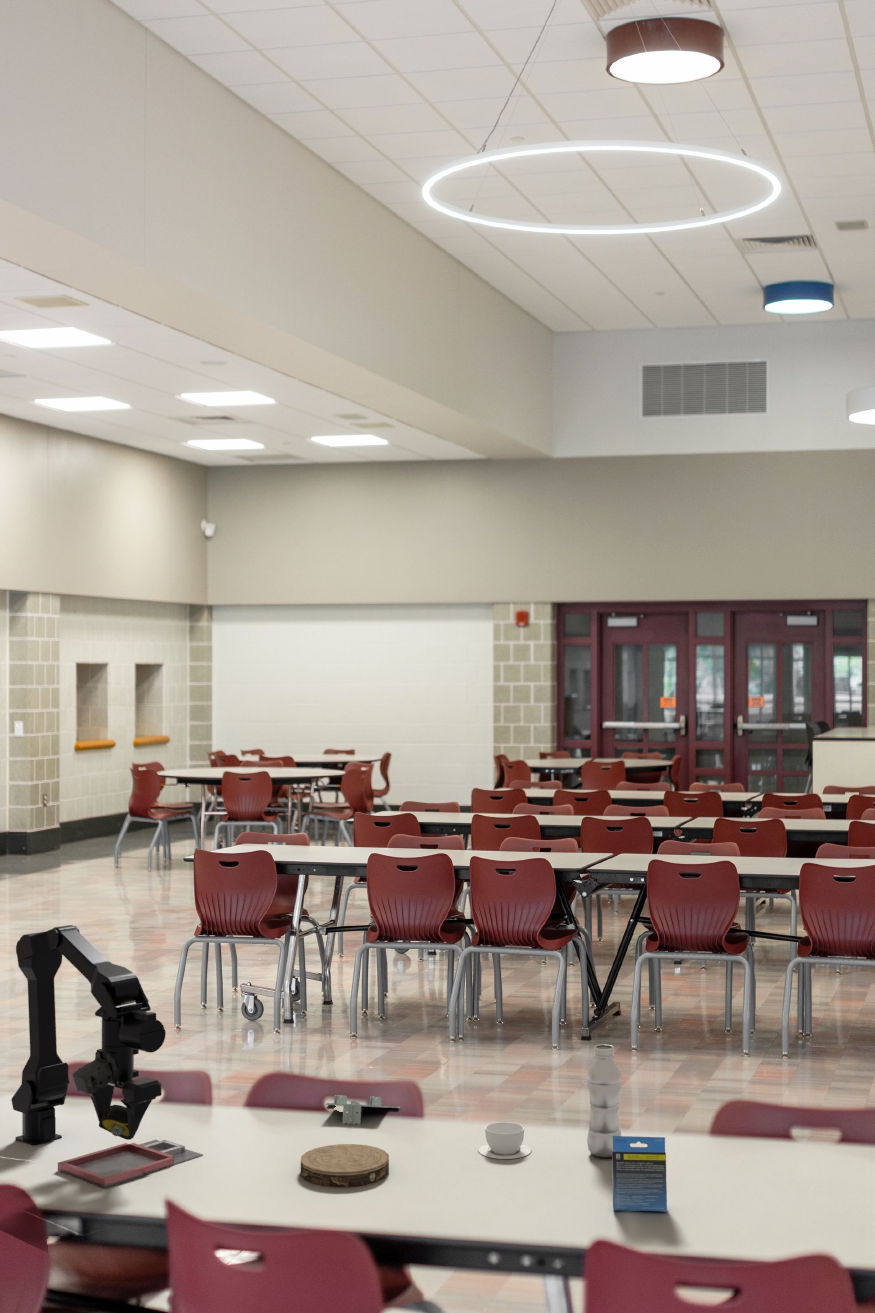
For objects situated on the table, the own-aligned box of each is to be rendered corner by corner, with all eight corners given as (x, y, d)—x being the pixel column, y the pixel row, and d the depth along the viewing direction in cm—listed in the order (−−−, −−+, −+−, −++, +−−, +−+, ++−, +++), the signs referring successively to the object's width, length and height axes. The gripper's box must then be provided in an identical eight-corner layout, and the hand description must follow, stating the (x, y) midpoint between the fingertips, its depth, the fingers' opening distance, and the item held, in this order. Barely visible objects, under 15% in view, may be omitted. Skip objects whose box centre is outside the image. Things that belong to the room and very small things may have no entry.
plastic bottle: (582, 1159, 268) (581, 1049, 269) (593, 1148, 275) (592, 1041, 275) (616, 1163, 266) (615, 1052, 267) (626, 1152, 272) (625, 1044, 273)
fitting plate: (57, 1171, 263) (57, 1163, 263) (155, 1143, 280) (155, 1134, 280) (104, 1188, 254) (104, 1179, 254) (203, 1158, 271) (203, 1149, 271)
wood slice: (282, 1175, 261) (281, 1159, 261) (346, 1155, 273) (346, 1138, 273) (343, 1196, 250) (343, 1178, 251) (407, 1173, 262) (407, 1156, 262)
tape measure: (129, 1147, 266) (138, 1128, 268) (135, 1132, 261) (144, 1114, 263) (95, 1131, 265) (104, 1113, 268) (100, 1116, 261) (110, 1098, 263)
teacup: (514, 1165, 266) (514, 1139, 266) (468, 1156, 272) (467, 1130, 272) (541, 1150, 275) (541, 1125, 275) (495, 1141, 280) (495, 1117, 280)
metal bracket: (388, 1097, 289) (315, 1094, 292) (387, 1128, 287) (313, 1124, 290) (402, 1098, 303) (331, 1095, 305) (400, 1128, 301) (330, 1124, 303)
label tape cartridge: (666, 1204, 245) (665, 1130, 245) (667, 1213, 241) (666, 1137, 241) (612, 1203, 246) (612, 1129, 246) (612, 1211, 242) (612, 1136, 242)
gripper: (49, 1043, 265) (49, 1130, 265) (112, 1060, 253) (112, 1151, 253) (100, 1032, 274) (100, 1116, 273) (163, 1048, 261) (163, 1136, 261)
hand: (117, 1130), depth 265 cm, fingers closed on tape measure, 8 cm apart
